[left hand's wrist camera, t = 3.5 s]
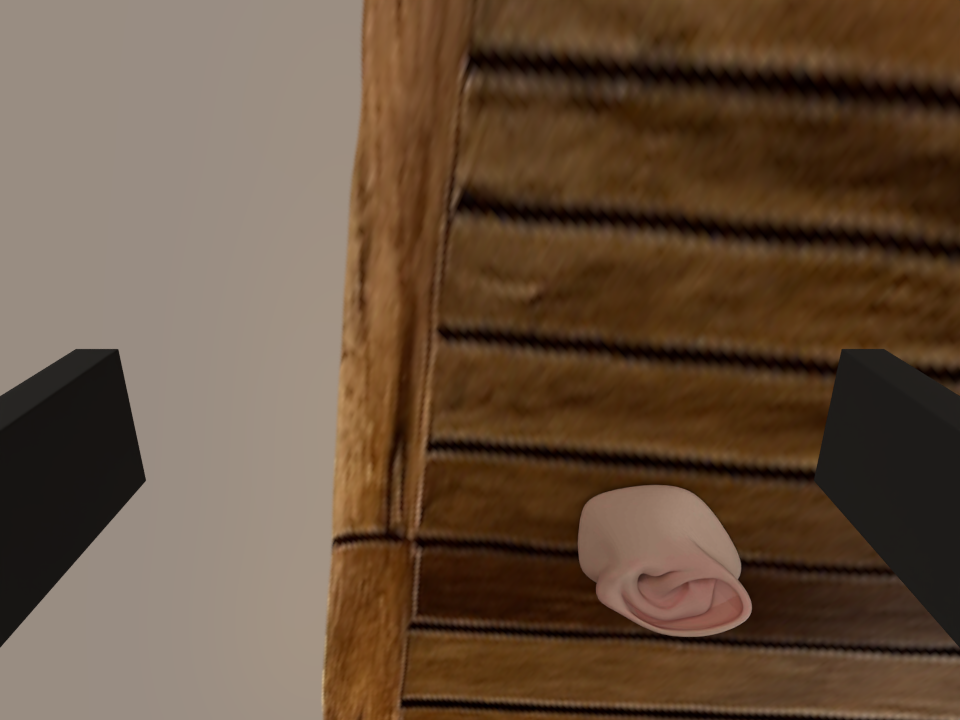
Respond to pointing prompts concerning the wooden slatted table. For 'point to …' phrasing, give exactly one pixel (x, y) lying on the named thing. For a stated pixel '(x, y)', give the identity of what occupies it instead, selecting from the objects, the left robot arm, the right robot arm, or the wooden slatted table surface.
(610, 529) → the anatomical model
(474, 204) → the wooden slatted table surface
